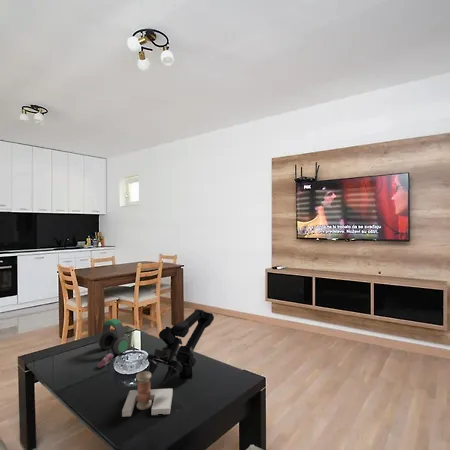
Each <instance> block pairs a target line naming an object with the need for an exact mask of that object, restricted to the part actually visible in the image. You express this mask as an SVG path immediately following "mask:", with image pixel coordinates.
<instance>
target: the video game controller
mask: <svg viewBox="0 0 450 450" xmlns="http://www.w3.org/2000/svg"><path fill="white" fill-rule="evenodd" d="M114 355H115V354H114V353H108V354H105V356H104V357H103V358H102V359H101V361H99V362H98V363H97V364H96V368H98V369H100V368H102V367H106V366H107V364H109V363H110V362H111V360H112V359H113V357H114Z"/></svg>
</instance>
